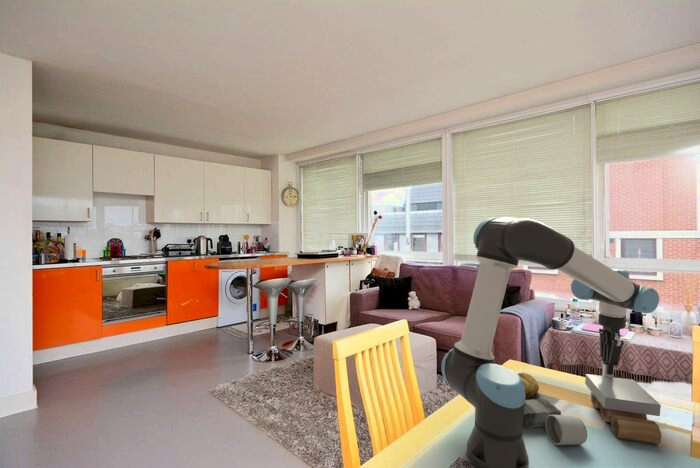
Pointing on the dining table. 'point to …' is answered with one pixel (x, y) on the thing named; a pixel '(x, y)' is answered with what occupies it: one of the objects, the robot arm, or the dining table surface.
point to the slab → (622, 395)
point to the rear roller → (595, 401)
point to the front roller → (619, 414)
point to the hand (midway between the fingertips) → (607, 381)
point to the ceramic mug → (565, 430)
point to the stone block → (538, 412)
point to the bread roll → (529, 384)
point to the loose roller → (635, 429)
